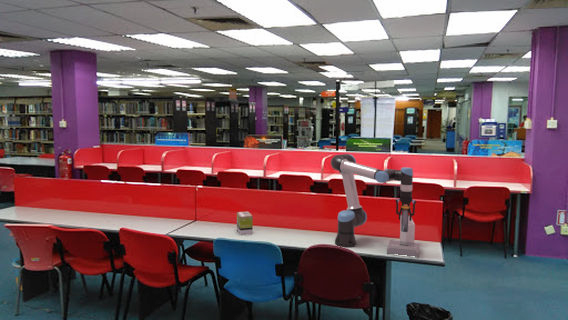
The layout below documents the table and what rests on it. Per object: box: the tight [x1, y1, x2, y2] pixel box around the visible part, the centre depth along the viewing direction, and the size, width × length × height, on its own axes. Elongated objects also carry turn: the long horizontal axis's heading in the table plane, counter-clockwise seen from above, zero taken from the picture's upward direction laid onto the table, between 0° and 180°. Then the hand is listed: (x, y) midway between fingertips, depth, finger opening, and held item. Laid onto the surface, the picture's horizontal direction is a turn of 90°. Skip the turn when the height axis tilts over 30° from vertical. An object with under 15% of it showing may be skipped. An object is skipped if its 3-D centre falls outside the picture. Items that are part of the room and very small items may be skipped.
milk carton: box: [399, 217, 416, 243], centre depth 279 cm, size 7×7×19 cm
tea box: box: [236, 211, 254, 236], centre depth 304 cm, size 15×10×15 cm
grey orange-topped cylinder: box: [400, 204, 411, 232], centre depth 260 cm, size 6×6×18 cm
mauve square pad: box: [386, 239, 421, 258], centre depth 262 cm, size 20×20×6 cm
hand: (404, 224), depth 261 cm, fingers closed on grey orange-topped cylinder, 4 cm apart
